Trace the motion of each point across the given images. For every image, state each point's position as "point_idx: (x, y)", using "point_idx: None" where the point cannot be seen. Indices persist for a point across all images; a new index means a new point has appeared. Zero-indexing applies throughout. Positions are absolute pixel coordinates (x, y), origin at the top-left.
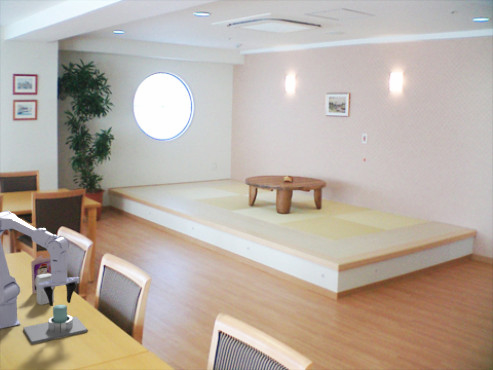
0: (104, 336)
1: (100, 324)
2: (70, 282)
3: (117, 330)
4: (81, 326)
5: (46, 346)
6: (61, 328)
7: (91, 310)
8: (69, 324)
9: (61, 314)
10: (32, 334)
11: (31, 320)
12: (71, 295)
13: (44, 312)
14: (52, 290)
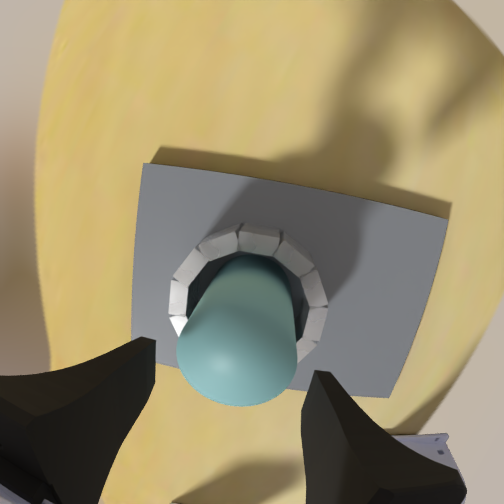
0: (116, 63)
1: (68, 208)
2: (12, 498)
3: (48, 97)
4: (152, 219)
5: (403, 141)
6: (276, 231)
7: None
8: (217, 234)
9: (253, 289)
10: (408, 300)
11: None
12: (91, 361)
13: (231, 472)
14: (390, 493)
